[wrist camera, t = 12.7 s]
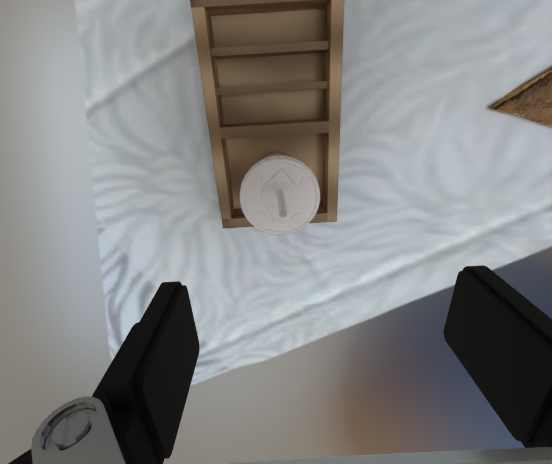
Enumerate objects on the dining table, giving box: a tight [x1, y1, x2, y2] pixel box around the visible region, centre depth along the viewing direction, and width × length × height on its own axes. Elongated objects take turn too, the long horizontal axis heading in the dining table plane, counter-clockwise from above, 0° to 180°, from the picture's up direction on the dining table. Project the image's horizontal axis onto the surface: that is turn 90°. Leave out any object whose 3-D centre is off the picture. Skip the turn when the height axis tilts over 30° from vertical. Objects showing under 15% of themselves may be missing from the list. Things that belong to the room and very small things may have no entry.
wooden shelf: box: [190, 0, 344, 228], centre depth 29 cm, size 20×12×4 cm, turn 3°
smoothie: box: [240, 152, 320, 235], centre depth 26 cm, size 6×6×14 cm
